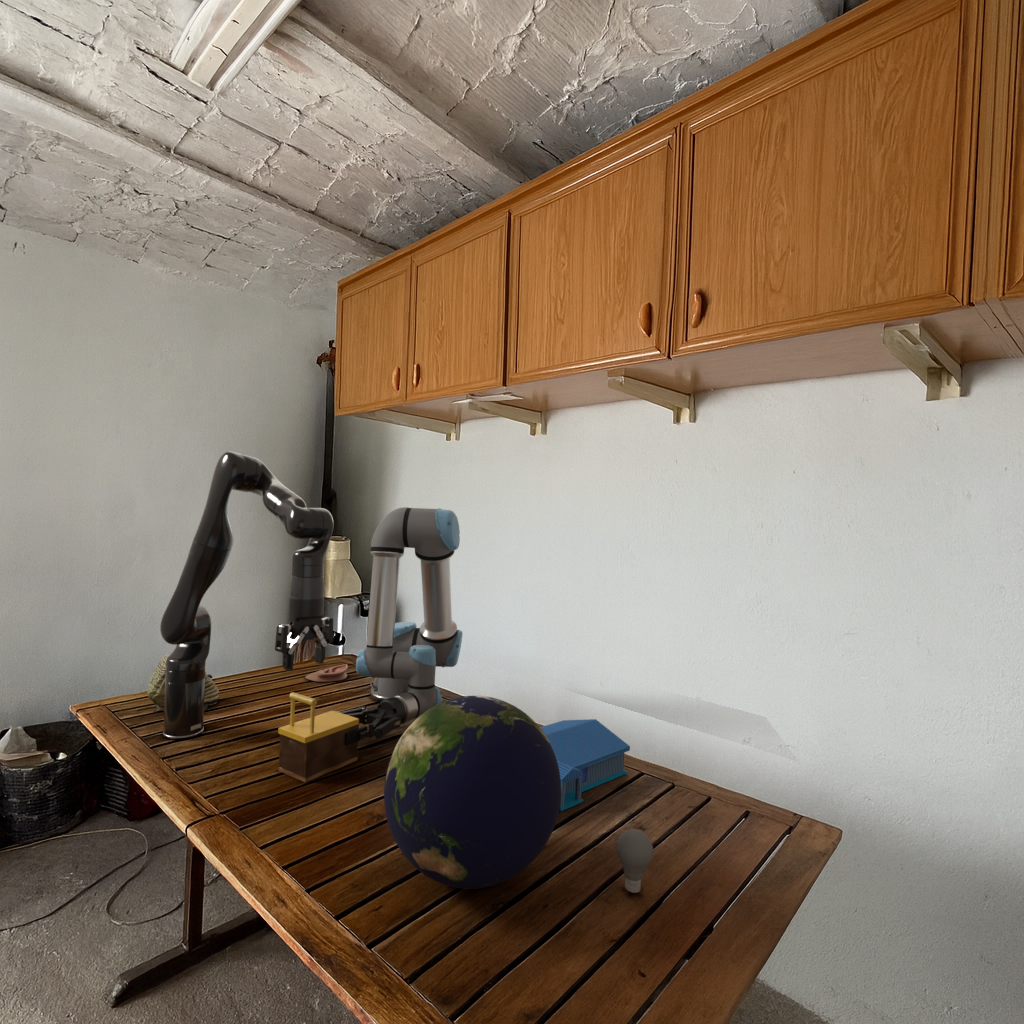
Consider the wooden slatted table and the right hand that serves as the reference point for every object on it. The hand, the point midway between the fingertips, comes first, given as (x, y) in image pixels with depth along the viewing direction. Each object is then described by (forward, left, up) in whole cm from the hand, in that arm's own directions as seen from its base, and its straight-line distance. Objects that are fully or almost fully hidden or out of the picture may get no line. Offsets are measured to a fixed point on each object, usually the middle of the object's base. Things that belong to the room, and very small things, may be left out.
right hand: (331, 734), depth 152 cm
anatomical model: (-64, -30, -6) cm, 71 cm away
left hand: (+8, -4, +18) cm, 20 cm away
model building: (-1, +51, -6) cm, 52 cm away
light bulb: (+37, +70, -6) cm, 79 cm away
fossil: (-25, -57, -6) cm, 62 cm away
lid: (+3, -2, +2) cm, 4 cm away
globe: (+38, +42, -6) cm, 57 cm away
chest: (+3, -1, -6) cm, 7 cm away
